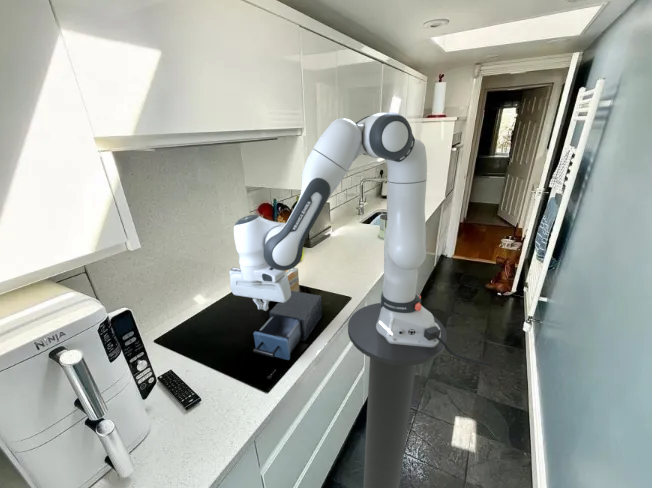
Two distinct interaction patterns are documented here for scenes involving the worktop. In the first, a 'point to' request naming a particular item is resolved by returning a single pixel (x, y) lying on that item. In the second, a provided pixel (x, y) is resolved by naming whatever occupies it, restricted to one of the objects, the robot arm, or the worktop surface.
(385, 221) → the coffee can
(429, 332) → the robot arm
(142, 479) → the worktop surface
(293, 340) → the drawer
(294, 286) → the supplement box
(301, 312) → the drawer cabinet housing
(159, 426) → the worktop surface
